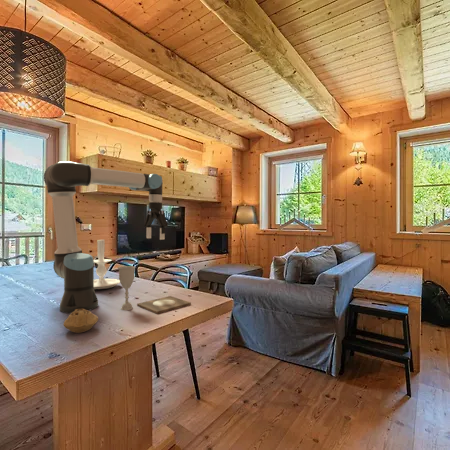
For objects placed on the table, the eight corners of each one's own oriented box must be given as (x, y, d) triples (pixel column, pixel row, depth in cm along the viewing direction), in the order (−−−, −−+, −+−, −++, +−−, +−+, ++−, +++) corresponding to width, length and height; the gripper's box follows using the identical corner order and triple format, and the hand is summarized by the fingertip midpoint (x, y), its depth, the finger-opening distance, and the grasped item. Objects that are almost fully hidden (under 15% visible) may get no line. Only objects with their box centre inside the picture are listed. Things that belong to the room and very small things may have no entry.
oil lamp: (89, 320, 112) (89, 299, 112) (103, 331, 101) (102, 308, 101) (57, 327, 105) (57, 305, 105) (68, 340, 94) (68, 315, 94)
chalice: (117, 311, 122) (116, 269, 122) (118, 306, 129) (118, 266, 128) (135, 310, 124) (135, 268, 124) (135, 305, 131) (135, 265, 130)
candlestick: (68, 289, 161) (67, 239, 160) (112, 282, 178) (111, 237, 177) (80, 296, 146) (79, 241, 145) (127, 288, 163) (126, 238, 162)
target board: (157, 314, 119) (157, 311, 119) (137, 305, 130) (137, 303, 130) (190, 304, 132) (190, 302, 132) (170, 297, 143) (170, 295, 143)
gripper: (174, 201, 161) (173, 239, 162) (149, 203, 178) (149, 237, 179) (162, 201, 156) (162, 240, 156) (138, 202, 173) (138, 238, 173)
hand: (155, 238), depth 167 cm, fingers open, 13 cm apart
